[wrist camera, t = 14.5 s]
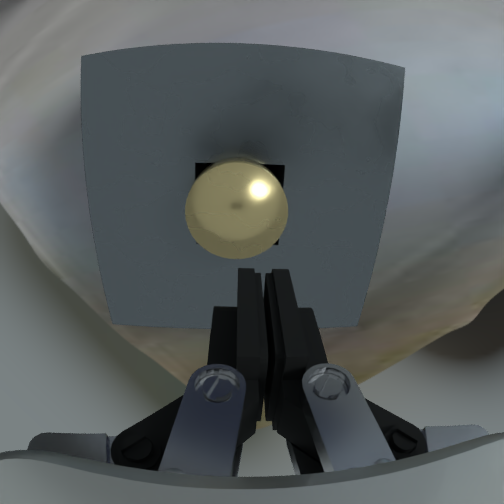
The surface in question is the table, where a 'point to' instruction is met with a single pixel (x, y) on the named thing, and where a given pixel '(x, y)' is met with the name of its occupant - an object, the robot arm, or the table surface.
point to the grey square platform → (236, 146)
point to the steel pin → (236, 208)
